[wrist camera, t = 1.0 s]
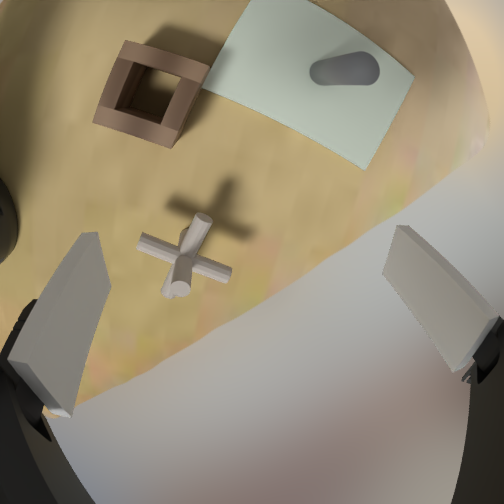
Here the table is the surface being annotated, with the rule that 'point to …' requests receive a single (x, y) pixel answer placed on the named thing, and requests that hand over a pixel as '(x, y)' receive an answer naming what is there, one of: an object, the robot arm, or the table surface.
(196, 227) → the pipe connector
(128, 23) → the table surface
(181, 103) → the collar
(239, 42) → the post stand
